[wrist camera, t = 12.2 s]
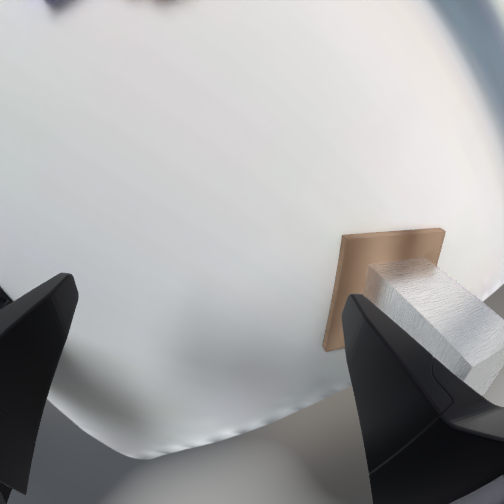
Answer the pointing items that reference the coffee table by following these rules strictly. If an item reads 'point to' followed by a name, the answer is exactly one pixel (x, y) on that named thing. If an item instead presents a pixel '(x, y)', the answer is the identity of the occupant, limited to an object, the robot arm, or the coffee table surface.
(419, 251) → the post base
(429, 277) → the white foam block
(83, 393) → the coffee table surface
